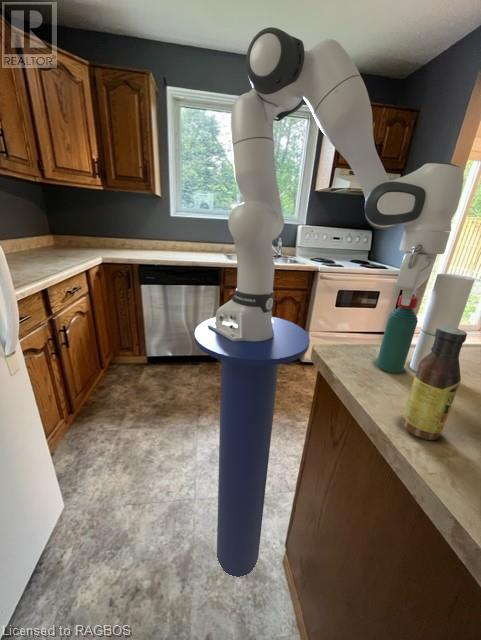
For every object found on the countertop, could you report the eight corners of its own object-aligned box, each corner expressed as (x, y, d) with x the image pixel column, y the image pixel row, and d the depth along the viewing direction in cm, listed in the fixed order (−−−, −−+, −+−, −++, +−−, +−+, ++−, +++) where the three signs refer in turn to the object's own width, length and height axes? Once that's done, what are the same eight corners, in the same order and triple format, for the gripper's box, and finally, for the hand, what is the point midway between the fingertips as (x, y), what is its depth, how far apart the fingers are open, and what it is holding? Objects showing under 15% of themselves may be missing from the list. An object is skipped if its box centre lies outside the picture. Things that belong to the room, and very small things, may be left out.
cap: (416, 306, 67) (419, 297, 66) (414, 309, 64) (416, 300, 63) (399, 303, 69) (401, 294, 68) (396, 306, 66) (398, 296, 65)
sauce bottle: (442, 447, 46) (482, 342, 40) (400, 433, 49) (432, 332, 42) (437, 424, 52) (472, 328, 45) (400, 413, 55) (428, 321, 48)
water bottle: (373, 366, 72) (390, 298, 65) (379, 358, 77) (396, 294, 70) (400, 376, 68) (421, 304, 62) (405, 366, 73) (425, 299, 66)
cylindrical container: (443, 380, 68) (478, 281, 59) (410, 371, 71) (439, 276, 62) (439, 367, 73) (471, 276, 65) (409, 360, 77) (435, 272, 68)
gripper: (433, 247, 52) (414, 315, 57) (443, 244, 67) (428, 298, 72) (397, 244, 56) (382, 308, 61) (414, 242, 71) (401, 293, 75)
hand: (407, 302), depth 66 cm, fingers closed on cap, 4 cm apart
